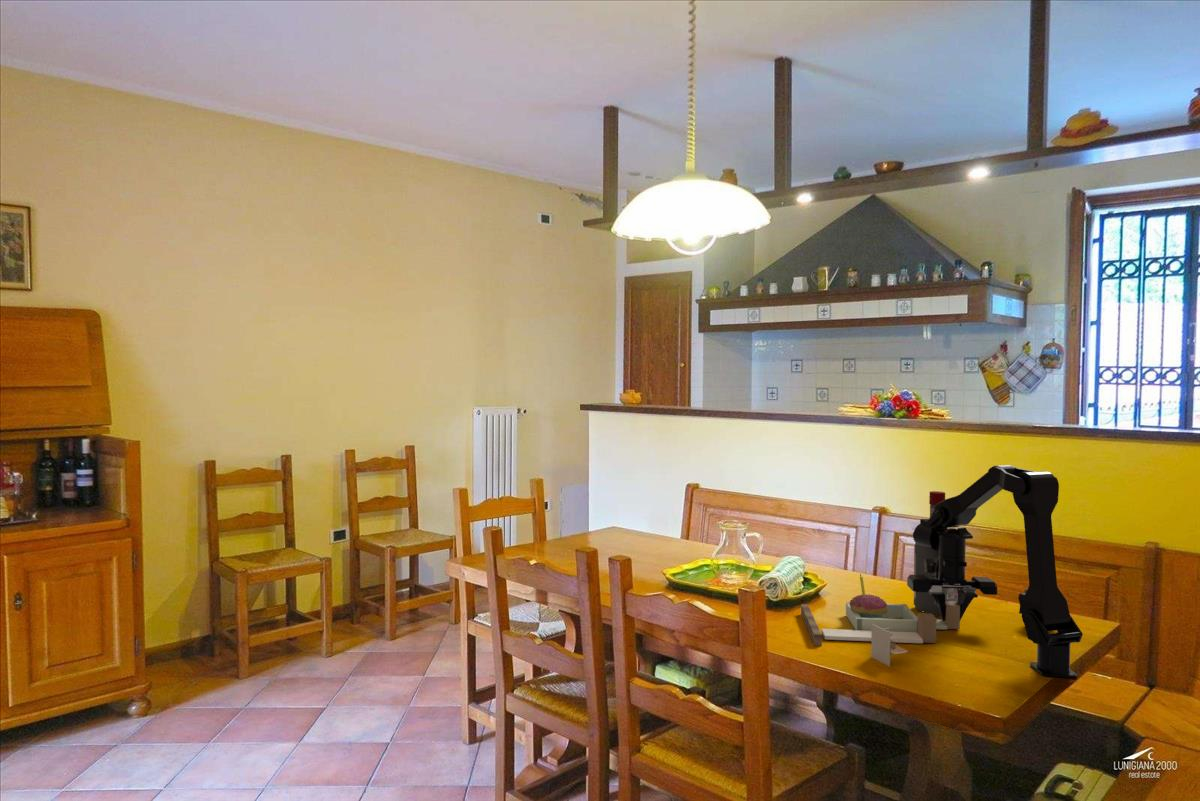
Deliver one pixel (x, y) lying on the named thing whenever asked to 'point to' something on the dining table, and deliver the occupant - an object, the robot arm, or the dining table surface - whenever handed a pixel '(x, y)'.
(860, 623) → the tray
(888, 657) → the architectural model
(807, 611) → the walnut back rail
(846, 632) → the cream lane
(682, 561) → the dining table surface
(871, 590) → the dining table surface
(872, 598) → the cupcake
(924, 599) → the liquor
